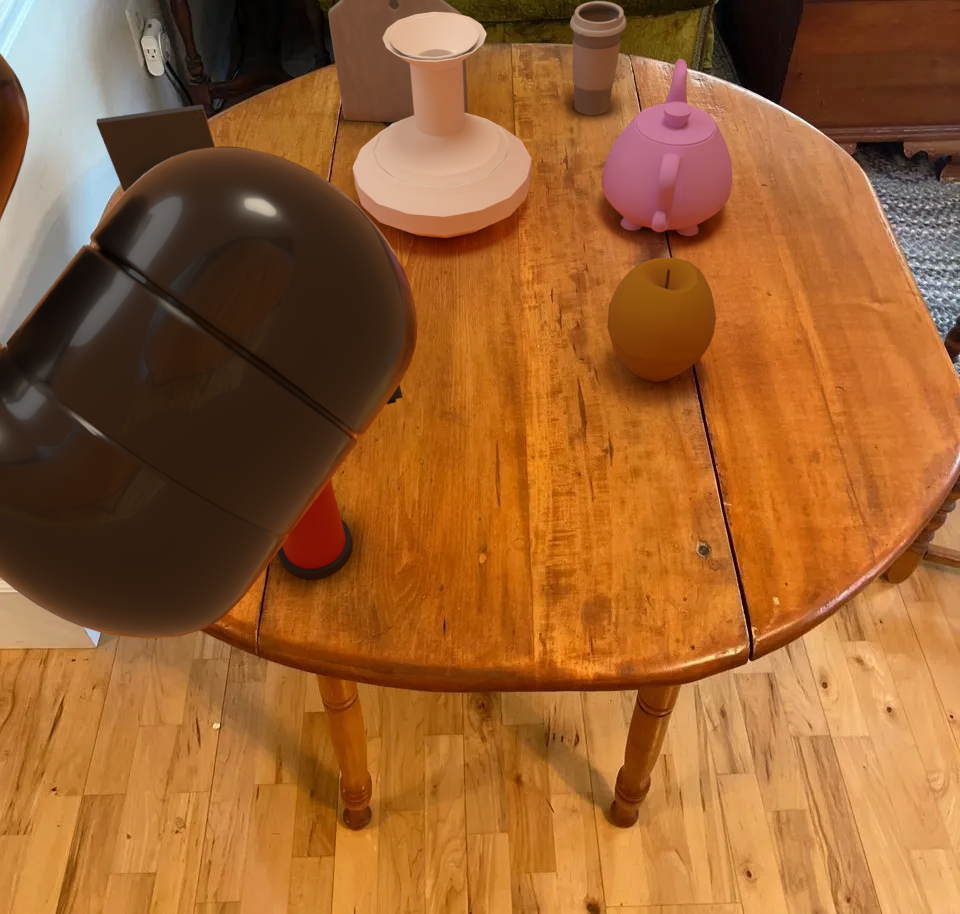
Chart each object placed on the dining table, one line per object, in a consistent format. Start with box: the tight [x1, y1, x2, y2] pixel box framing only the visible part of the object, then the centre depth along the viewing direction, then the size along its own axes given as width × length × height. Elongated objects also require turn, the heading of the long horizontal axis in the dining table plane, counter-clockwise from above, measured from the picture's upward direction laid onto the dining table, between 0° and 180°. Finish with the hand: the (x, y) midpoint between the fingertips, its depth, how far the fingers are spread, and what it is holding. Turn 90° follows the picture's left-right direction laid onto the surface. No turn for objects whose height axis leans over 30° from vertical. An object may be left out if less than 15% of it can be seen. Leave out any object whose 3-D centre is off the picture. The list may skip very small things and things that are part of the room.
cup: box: [569, 0, 627, 116], centre depth 109 cm, size 7×7×12 cm
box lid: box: [96, 104, 216, 194], centre depth 89 cm, size 11×10×1 cm
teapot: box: [600, 58, 733, 237], centre depth 95 cm, size 20×14×12 cm
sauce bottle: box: [282, 479, 346, 569], centre depth 66 cm, size 5×5×13 cm
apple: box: [606, 257, 717, 383], centre depth 79 cm, size 10×10×12 cm
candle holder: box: [351, 12, 533, 239], centre depth 94 cm, size 20×20×19 cm
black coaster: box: [277, 518, 353, 580], centre depth 71 cm, size 6×6×1 cm
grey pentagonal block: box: [327, 0, 469, 124], centre depth 107 cm, size 16×8×19 cm, turn 83°
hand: (267, 407), depth 51 cm, fingers open, 8 cm apart
